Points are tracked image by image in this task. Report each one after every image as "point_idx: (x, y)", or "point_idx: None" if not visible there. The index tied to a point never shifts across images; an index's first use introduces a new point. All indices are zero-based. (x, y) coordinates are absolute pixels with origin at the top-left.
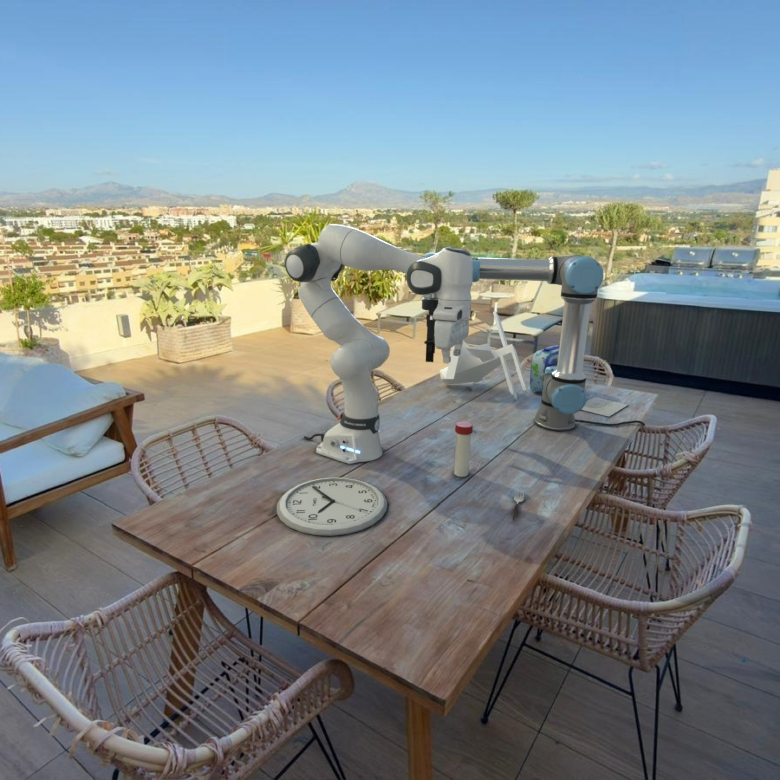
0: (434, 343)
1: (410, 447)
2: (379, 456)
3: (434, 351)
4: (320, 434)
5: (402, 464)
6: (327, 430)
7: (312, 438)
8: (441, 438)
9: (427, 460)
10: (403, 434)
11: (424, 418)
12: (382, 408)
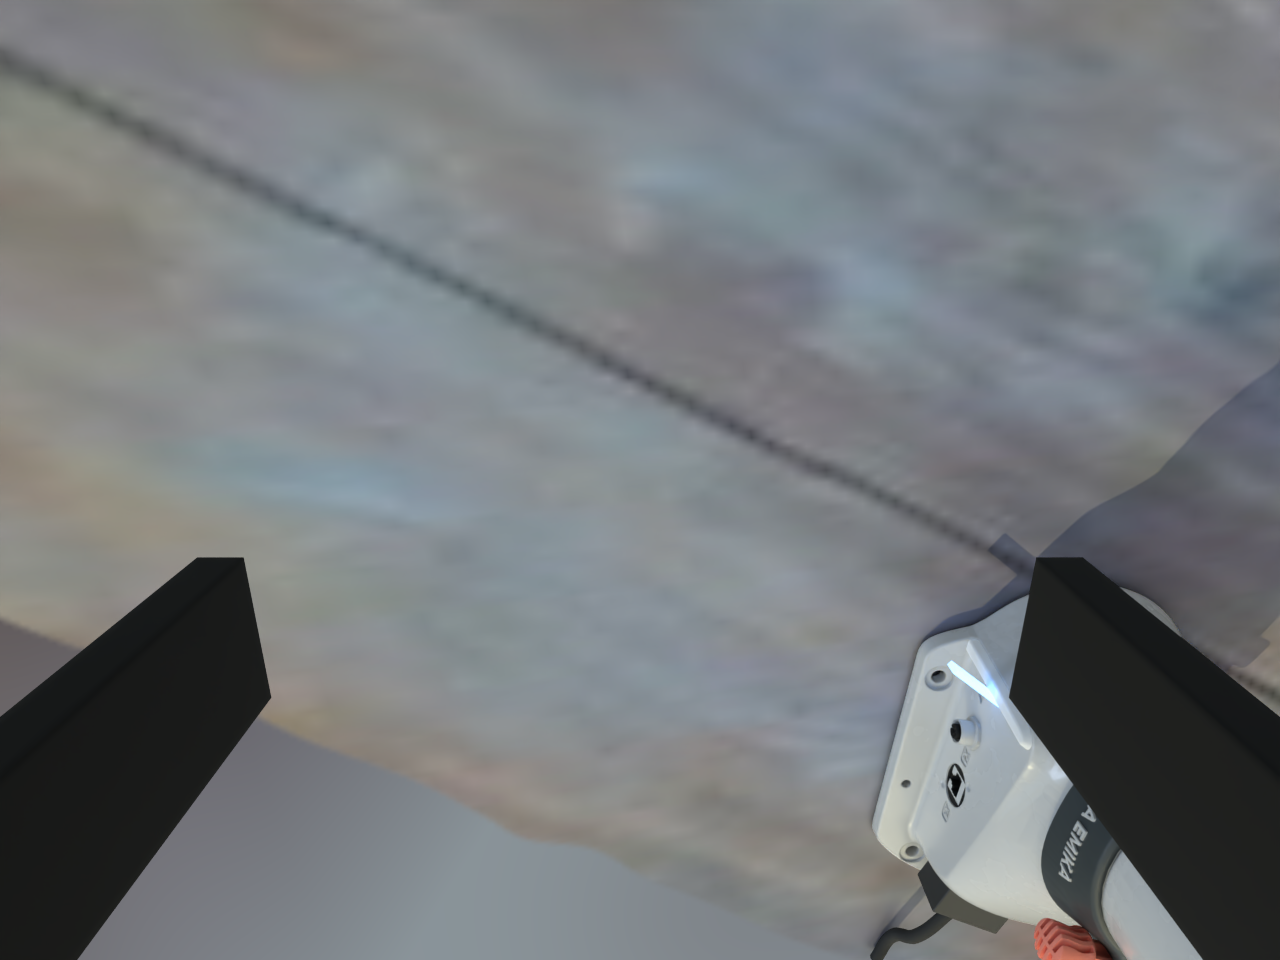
0: (89, 717)
1: (976, 433)
2: (1136, 594)
3: (220, 585)
4: (945, 923)
5: (1230, 458)
6: (949, 915)
7: (903, 929)
8: (807, 227)
9: (1186, 312)
10: (759, 494)
11: (417, 374)
12: (296, 671)
